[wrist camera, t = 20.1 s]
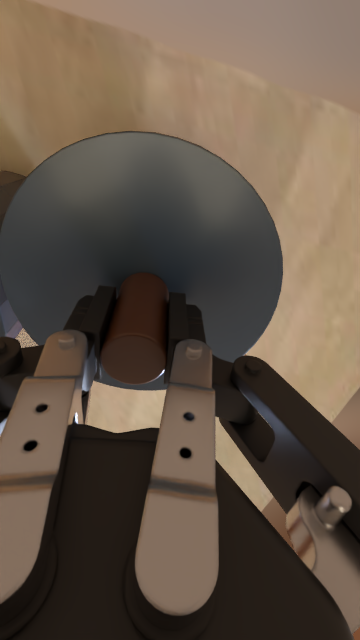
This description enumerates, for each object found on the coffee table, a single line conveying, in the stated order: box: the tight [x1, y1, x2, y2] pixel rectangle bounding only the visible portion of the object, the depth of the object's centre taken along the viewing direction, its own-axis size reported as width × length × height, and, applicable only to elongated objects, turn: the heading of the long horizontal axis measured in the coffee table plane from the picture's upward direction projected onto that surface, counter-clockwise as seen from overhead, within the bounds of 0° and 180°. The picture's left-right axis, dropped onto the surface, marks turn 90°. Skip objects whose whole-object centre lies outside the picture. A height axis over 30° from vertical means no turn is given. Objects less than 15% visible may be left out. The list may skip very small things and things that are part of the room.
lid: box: [0, 131, 283, 390], centre depth 13 cm, size 14×14×6 cm
